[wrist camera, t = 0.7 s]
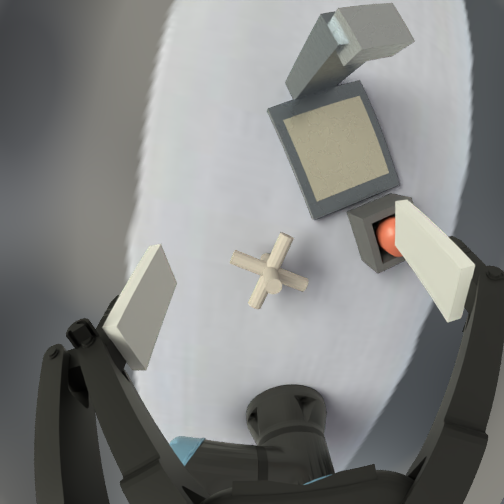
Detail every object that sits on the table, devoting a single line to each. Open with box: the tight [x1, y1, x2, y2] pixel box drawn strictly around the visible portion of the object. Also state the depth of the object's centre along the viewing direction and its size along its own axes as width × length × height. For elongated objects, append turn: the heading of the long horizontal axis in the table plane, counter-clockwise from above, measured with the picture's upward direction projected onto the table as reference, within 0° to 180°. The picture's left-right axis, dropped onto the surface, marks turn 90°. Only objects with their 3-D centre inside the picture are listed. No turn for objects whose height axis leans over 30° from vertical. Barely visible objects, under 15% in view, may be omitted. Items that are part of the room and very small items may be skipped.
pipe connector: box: [230, 232, 308, 309], centre depth 37 cm, size 10×10×10 cm
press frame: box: [267, 3, 415, 220], centre depth 27 cm, size 19×14×22 cm
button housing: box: [347, 193, 413, 273], centre depth 38 cm, size 8×8×6 cm
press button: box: [375, 216, 403, 257], centre depth 35 cm, size 5×5×3 cm
